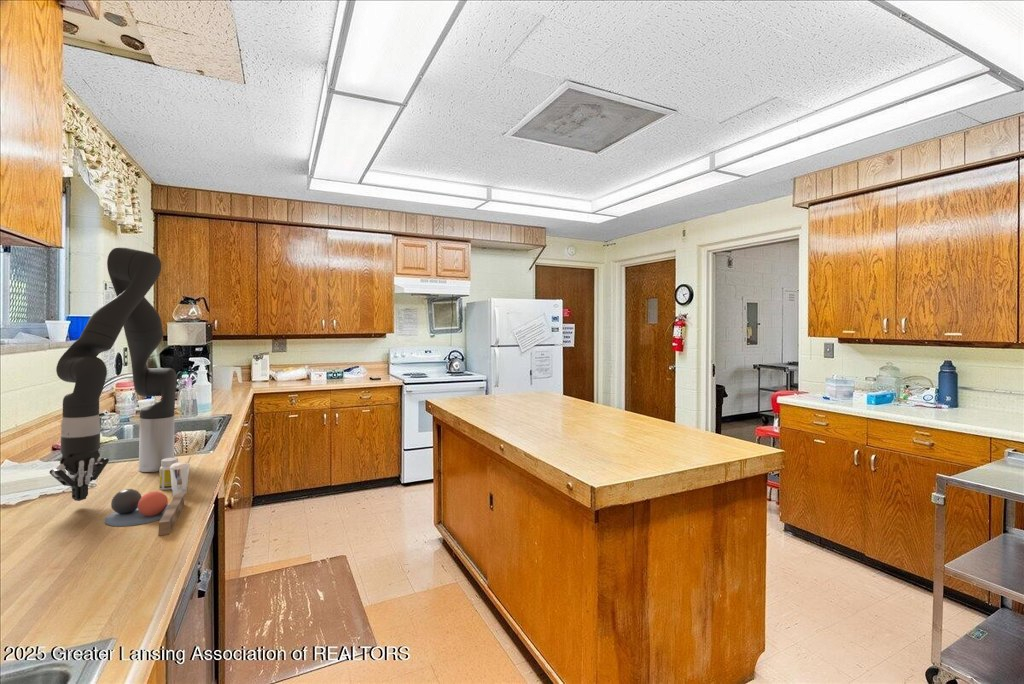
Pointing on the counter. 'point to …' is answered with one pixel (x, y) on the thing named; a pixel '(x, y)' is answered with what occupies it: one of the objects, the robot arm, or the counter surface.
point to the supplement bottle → (166, 473)
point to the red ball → (152, 503)
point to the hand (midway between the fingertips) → (80, 499)
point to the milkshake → (179, 477)
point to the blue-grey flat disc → (131, 518)
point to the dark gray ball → (126, 501)
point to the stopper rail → (171, 514)
